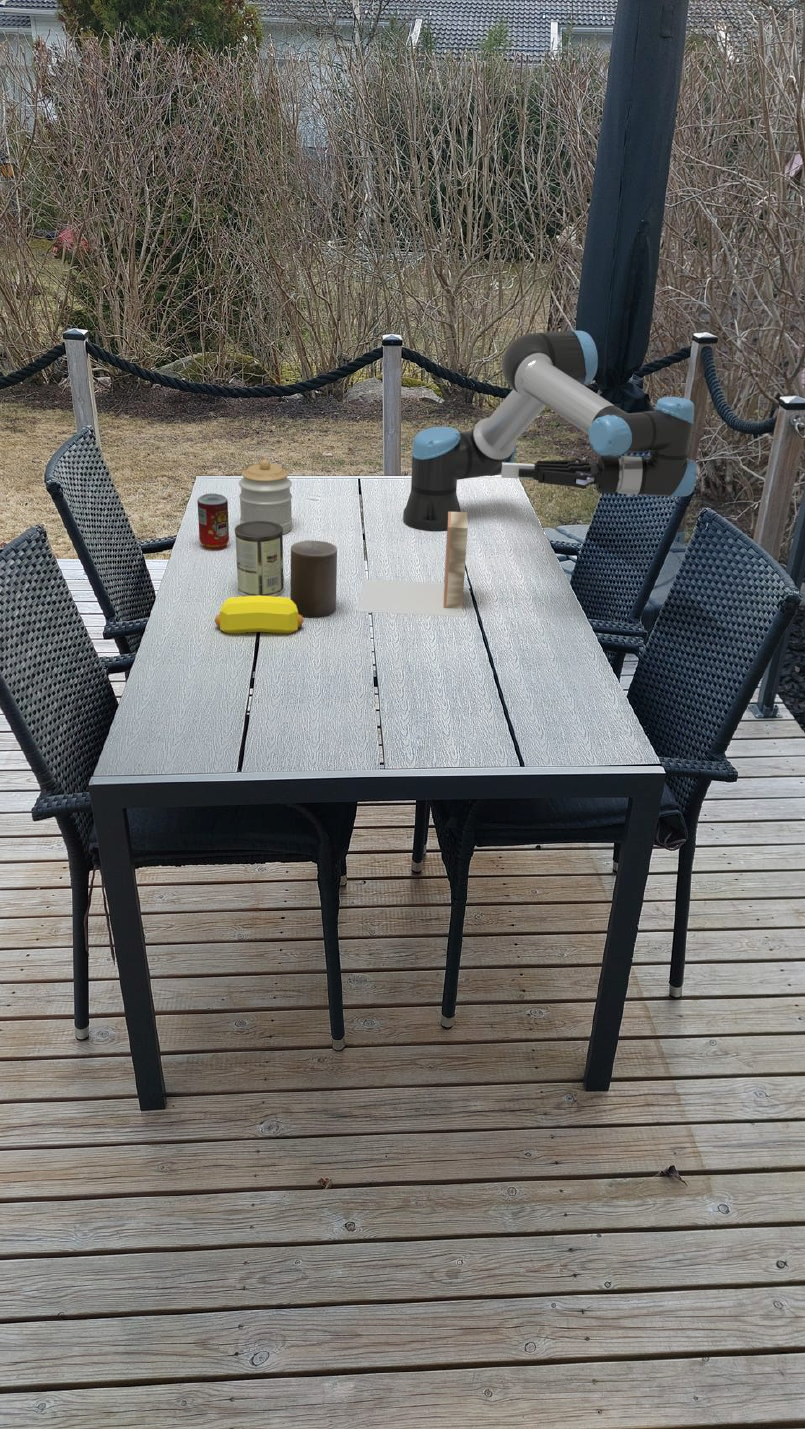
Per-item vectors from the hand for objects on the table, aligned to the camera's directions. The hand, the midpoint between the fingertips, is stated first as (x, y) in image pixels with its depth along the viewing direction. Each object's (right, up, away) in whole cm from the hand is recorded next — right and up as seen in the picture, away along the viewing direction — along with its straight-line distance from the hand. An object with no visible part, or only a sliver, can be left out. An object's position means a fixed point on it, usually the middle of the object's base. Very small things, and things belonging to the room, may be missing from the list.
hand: (502, 470), depth 226 cm
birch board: (-9, -25, +14) cm, 30 cm away
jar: (-54, -3, +52) cm, 75 cm away
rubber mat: (-18, -25, +15) cm, 35 cm away
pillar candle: (-39, -28, +9) cm, 49 cm away
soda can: (-65, -10, +40) cm, 77 cm away
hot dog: (-50, -33, 0) cm, 59 cm away
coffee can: (-52, -23, +17) cm, 59 cm away
